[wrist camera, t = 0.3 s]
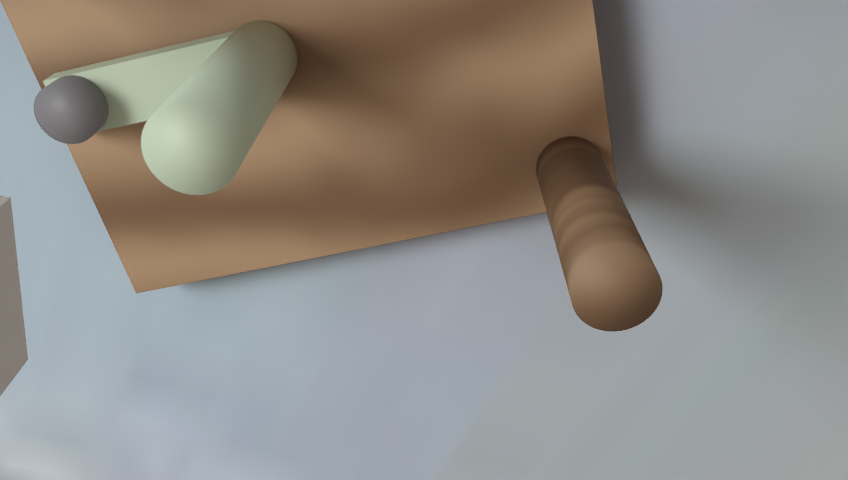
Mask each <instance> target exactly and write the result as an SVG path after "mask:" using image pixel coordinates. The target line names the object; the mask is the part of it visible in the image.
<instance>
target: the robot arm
mask: <svg viewBox="0 0 848 480" xmlns="http://www.w3.org/2000/svg"><path fill="white" fill-rule="evenodd" d="M27 360H28V356H27V347H26V337H25V328H24V319H23V309H22V300H21V291H20V281H19V272H18V263H17V253H16V244H15V235H14V225H13V216H12V207H11V197H4V196H0V396H1V394H2V393H3V392H4V390H5V389H6V388H7V386H8V385H9V384H10V382H11V381H12V380H13V378H14V377H15V376H16V374H17V373H18V372H19V370H20V369H21V368H22V366H23V365H24V364H25V362H26V361H27Z"/></svg>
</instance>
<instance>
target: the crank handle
mask: <svg viewBox="0 0 848 480" xmlns="http://www.w3.org/2000/svg"><path fill="white" fill-rule="evenodd" d="M296 67H297V52H296V48H295V45H294V43H293V41H292V39H291V38H290V36H289V35H288V34H287V33H286V32H285V31H284V30H283V29H281V28H280V27H279V26H277V25H275V24H272V23H270V22H266V21H252V22H248V23H245V24H243V25H242V26H240V27H239V28H238V29H236V30H235V31H231V32H226V33H222V34H218V35H214V36H210V37H205V38H201V39H197V40H193V41H188V42H184V43H180V44H176V45H172V46H167V47H163V48H159V49H155V50H150V51H146V52H142V53H138V54H134V55H129V56H125V57H121V58H117V59H112V60H108V61H104V62H100V63H96V64H91V65H87V66H83V67H79V68H74V69H70V70H66V71H62V72H58V73H54V74H53V75H51V76H50V77H48V78H47V79H45V80H44V81H43V83H44V85H45V87H44V88H43V89H42V90H41V91H40V92H39V93H38V94H37V96H36V98H35V101H34V113H35V117H36V120H37V122H38V124H39V125H40V127H41V128H42V129H43V130H44V132H46V133H47V134H48V135H49V136H50V137H52V138H53V139H55V140H57V141H60V142H62V143H67V144H78V143H82V142H85V141H87V140H88V139H89V138H91V137H92V136H93V135H94V134H95V133H96V132H99V131H104V130H108V129H112V128H117V127H121V126H126V125H130V124H135V123H139V122H144V121H147V122H146V124H145V126H144V128H143V131H142V135H141V149H142V154H143V157H144V160H145V162H146V164H147V166H148V168H149V169H150V171H151V172H152V173H153V174H154V176H155V177H156V178H157V179H158V180H159V181H161V182H162V183H163V184H165V185H166V186H168V187H169V188H171V189H173V190H175V191H178V192H181V193H184V194H189V195H205V194H210V193H214V192H216V191H218V190H220V189H222V188H223V187H225V186H226V185H227V184H228V183H229V182H230V181H231V180H232V179H233V177H234V176H235V174H236V172H237V171H238V169H239V167H240V166H241V164H242V162H243V160H244V159H245V157H246V155H247V154H248V152H249V150H250V148H251V147H252V145H253V143H254V142H255V140H256V138H257V136H258V135H259V133H260V131H261V130H262V128H263V126H264V124H265V123H266V121H267V119H268V118H269V116H270V114H271V112H272V111H273V109H274V107H275V106H276V104H277V102H278V100H279V99H280V97H281V95H282V94H283V92H284V90H285V88H286V87H287V85H288V83H289V82H290V80H291V78H292V76H293V75H294V73H295V70H296Z"/></svg>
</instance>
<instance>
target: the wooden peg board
mask: <svg viewBox="0 0 848 480" xmlns="http://www.w3.org/2000/svg"><path fill="white" fill-rule="evenodd" d="M0 1H1V3H2V5H3V7H4V9H5V11H6V14H7V16H8V18H9V20H10V22H11V24H12V27H13V29H14V31H15V33H16V35H17V37H18V39H19V42H20V44H21V46H22V48H23V50H24V52H25V55H26V57H27V59H28V61H29V63H30V65H31V67H32V70H33V72H34V74H35V76H36V78H37V80H38V83H39V85H40V87H41V89H43V88H44V87H45V85H44V83H43V81H44V80H45V79H47V78H48V77H50V76H51V75H53V74H54V73H58V72H62V71H66V70H70V69H74V68H79V67H83V66H87V65H91V64H96V63H100V62H104V61H108V60H112V59H117V58H121V57H125V56H129V55H134V54H138V53H142V52H146V51H150V50H155V49H159V48H163V47H167V46H172V45H176V44H180V43H184V42H188V41H193V40H197V39H201V38H205V37H210V36H214V35H218V34H222V33H226V32H231V31H235V30H236V29H238V28H239V27H240V26H242V25H243V24H245V23H248V22H252V21H266V22H270V23H272V24H275V25H277V26H279V27H280V28H281V29H283V30H284V31H285V32H286V33H287V34H288V35H289V36H290V38H291V39H292V41H293V43H294V45H295V48H296V52H297V67H296V70H295V73H294V75H293V76H292V78H291V80H290V82H289V83H288V85H287V87H286V88H285V90H284V92H283V94H282V95H281V97H280V99H279V100H278V102H277V104H276V106H275V107H274V109H273V111H272V112H271V114H270V116H269V118H268V119H267V121H266V123H265V124H264V126H263V128H262V130H261V131H260V133H259V135H258V136H257V138H256V140H255V142H254V143H253V145H252V147H251V148H250V150H249V152H248V154H247V155H246V157H245V159H244V160H243V162H242V164H241V166H240V167H239V169H238V171H237V172H236V174H235V176H234V177H233V179H232V180H231V181H230V182H229V183H228V184H227V185H226V186H225V187H223V188H222V189H220V190H218V191H216V192H214V193H210V194H205V195H189V194H184V193H181V192H178V191H175V190H173V189H171V188H169V187H168V186H166V185H165V184H163V183H162V182H161V181H159V180H158V179H157V178H156V177H155V176H154V174H153V173H152V172H151V171H150V169H149V168H148V166H147V164H146V162H145V160H144V157H143V154H142V149H141V135H142V131H143V128H144V126H145V124H146V122H147V121H144V122H139V123H135V124H130V125H126V126H121V127H117V128H112V129H108V130H104V131H99V132H96V133H95V134H94V135H93V136H92V137H91V138H89V139H88V140H87V141H85V142H82V143H78V144H67V145H68V147H69V149H70V151H71V154H72V156H73V158H74V160H75V162H76V164H77V167H78V169H79V171H80V173H81V175H82V177H83V179H84V182H85V184H86V186H87V188H88V190H89V192H90V195H91V197H92V199H93V201H94V203H95V205H96V207H97V210H98V212H99V214H100V216H101V218H102V220H103V223H104V225H105V227H106V229H107V231H108V233H109V236H110V238H111V240H112V242H113V244H114V246H115V248H116V251H117V253H118V255H119V257H120V259H121V261H122V264H123V266H124V268H125V270H126V272H127V274H128V276H129V279H130V281H131V283H132V285H133V287H134V289H135V292H136V293H140V292H145V291H150V290H155V289H160V288H165V287H171V286H176V285H181V284H186V283H191V282H196V281H201V280H206V279H211V278H216V277H221V276H226V275H231V274H236V273H241V272H246V271H251V270H256V269H261V268H266V267H271V266H277V265H282V264H287V263H292V262H297V261H302V260H307V259H312V258H317V257H322V256H327V255H332V254H337V253H342V252H347V251H352V250H357V249H362V248H367V247H372V246H377V245H382V244H388V243H393V242H398V241H403V240H408V239H413V238H418V237H423V236H428V235H433V234H438V233H443V232H448V231H453V230H458V229H463V228H468V227H473V226H478V225H483V224H488V223H493V222H499V221H504V220H509V219H514V218H519V217H524V216H529V215H534V214H539V213H544V212H547V215H548V218H549V222H550V225H551V229H552V233H553V236H554V240H555V243H556V247H557V251H558V254H559V258H560V262H561V265H562V269H563V272H564V276H565V280H566V283H567V287H568V291H569V294H570V298H571V301H572V305H573V308H574V310H575V312H576V314H577V315H578V317H579V318H580V319H581V320H582V321H583V322H585V323H586V324H587V325H589V326H591V327H593V328H596V329H599V330H603V331H622V330H626V329H629V328H632V327H635V326H637V325H639V324H640V323H642V322H644V321H645V320H646V319H648V318H649V317H650V316H651V315H652V314H653V312H654V311H655V310H656V308H657V306H658V305H659V302H660V300H661V296H662V282H661V278H660V276H659V274H658V272H657V270H656V267H655V265H654V263H653V261H652V259H651V257H650V255H649V253H648V251H647V249H646V247H645V245H644V243H643V241H642V239H641V237H640V235H639V233H638V231H637V228H636V226H635V224H634V222H633V220H632V218H631V216H630V214H629V212H628V210H627V208H626V206H625V204H624V202H623V200H622V198H621V196H620V194H619V192H618V189H617V185H616V177H615V169H614V162H613V154H612V146H611V139H610V131H609V124H608V116H607V108H606V101H605V93H604V85H603V78H602V70H601V63H600V55H599V47H598V40H597V32H596V25H595V17H594V9H593V2H592V0H0Z"/></svg>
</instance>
